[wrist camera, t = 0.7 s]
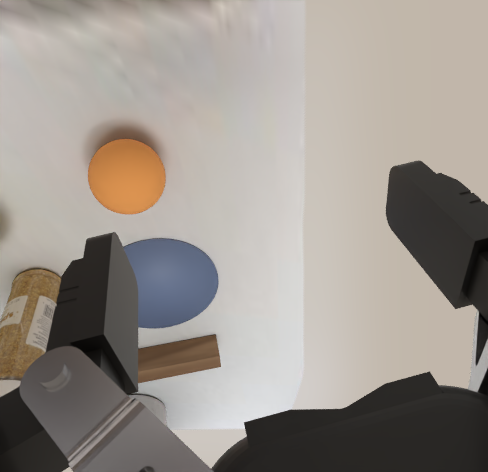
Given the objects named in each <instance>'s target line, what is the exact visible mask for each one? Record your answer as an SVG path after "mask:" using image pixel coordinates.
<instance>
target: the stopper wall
mask: <svg viewBox="0 0 488 472" xmlns="http://www.w3.org/2000/svg"><path fill="white" fill-rule="evenodd" d="M217 367H221V363H220V356H219V350H218V345H217V339H216V335H211V336H205V337H200V338H195V339H189V340H184V341H179V342H173V343H168V344H163V345H157V346H152V347H147V348H141V349H138V383H142V382H147V381H152V380H157V379H162V378H167V377H172V376H177V375H182V374H187V373H192V372H197V371H202V370H207V369H212V368H217Z"/></svg>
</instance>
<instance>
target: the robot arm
mask: <svg viewBox="0 0 488 472" xmlns="http://www.w3.org/2000/svg"><path fill="white" fill-rule="evenodd" d="M386 216H387V220H388V224H389V226H390V228H391V230H392V231H393V232H394V233H395V235H396V236H397V237H398V238H399V239H400V241H401V242H402V243H403V245H404V246H405V247H406V248H407V249H408V251H409V252H410V253H411V254H412V256H413V257H414V258H415V259H416V261H417V262H418V263H419V264H420V266H421V267H422V268H423V269H424V271H425V272H426V273H427V274H428V275H429V277H430V278H431V279H432V280H433V282H434V283H435V284H436V285H437V287H438V288H439V289H440V290H441V292H442V293H443V294H444V295H445V296H446V298H447V299H448V300H449V302H450V303H451V304H452V305H453V307H454V308H455V309H457V308H461V307H465V306H468V305H472V304H473V305H474V306H475V307H476V309H477V313H476V317H475V325H474V339H473V352H472V365H471V376H470V382H469V387H468V389H464V388H459V387H453V386H442V385H441V386H439V385H438V384H437V382H436V381H435V379H434V378H433V376H432V375H431V373H430V372H427V373H423V374H419V375H416V376H412V377H408V378H405V379H401V380H397V381H394V382H390V383H386V384H384V385H382V386H381V387H379V388H377V389H376V390H374V391H372V392H371V393H369V394H368V395H366V396H364V397H363V398H361V399H359V400H358V401H356V402H354V403H353V404H351V405H350V406H348V407H346V408H343V409H310V410H288V411H284V412H281V413H277V414H273V415H270V416H266V417H262V418H259V419H255V420H252V421H248V422H244V425H245V429H246V434H247V437H245V438H244V439H242V440H240V441H239V442H237V443H236V444H235V445H233V446H232V447H231V448H230V449H228V450H227V451H226V452H225V453H224V454H223V455H222V456H221V457H220V458H219V460H218V461H217V462H216V463H215V465H214V466H213V467H212V469H211V468H209V467H208V466H207V465H206V464H205V463H204V462H203V461H202V460H201V459H200V458H199V457H198V456H197V455H196V454H195V453H194V452H193V451H192V450H191V449H190V448H189V447H188V446H186V445H185V444H184V443H183V442H182V441H181V440H180V439H179V438H178V437H177V436H176V435H175V434H174V433H173V432H172V431H171V430H170V429H169V428H168V427H167V422H166V409H165V406H164V405H163V403H162V402H160V401H159V400H157V399H155V398H153V397H149V396H144V395H127V394H131V393H135V392H138V285H137V280H136V277H135V273H134V271H133V268H132V266H131V264H130V262H129V260H128V257H127V255H126V253H125V251H124V248H123V246H122V244H121V242H120V239H119V237H118V235H117V234H116V233H115V232H113V233H109V234H105V235H100V236H96V237H92V238H88V239H87V240H86V245H85V251H84V257H83V258H82V259H78V260H74V261H72V262H71V264H70V265H69V266H68V268H67V269H66V271H65V272H64V274H63V275H62V278H61V283H60V287H59V294H58V296H57V301H56V304H57V306H55V310H54V315H53V320H52V324H51V329H50V334H49V338H48V343H47V348H46V352H45V353H44V354H43V355H41V356H40V357H39V358H37V359H36V360H35V361H34V362H33V363H32V364H31V365H30V366H29V367H28V369H27V370H26V372H25V373H24V375H23V377H22V380H21V382H20V386H19V387H17V388H16V389H14V390H12V391H11V392H9V393H7V394H5V395H3V396H1V397H0V472H62V471H63V470H65V469H66V468H68V467H70V468H71V469H72V470H73V472H488V205H487V204H486V203H485V202H484V201H483V202H481V199H480V198H479V197H478V196H476V195H475V194H474V193H471V192H470V190H469V189H468V188H467V187H465V186H464V185H463V184H462V183H461V182H459V181H458V180H456V179H453V178H451V177H449V176H446V175H444V174H442V173H438V174H436V173H435V172H433V171H432V170H431V169H430V168H429V167H428V166H427V165H425V164H424V163H423V162H422V161H414V162H410V163H406V164H402V165H398V166H394V167H392V168H391V170H390V174H389V184H388V194H387V204H386Z"/></svg>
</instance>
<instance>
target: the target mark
mask: <svg viewBox="0 0 488 472" xmlns="http://www.w3.org/2000/svg"><path fill="white" fill-rule="evenodd" d="M123 248H124V251H125V253H126V255H127V257H128V260H129V262H130V264H131V266H132V268H133V271H134V273H135V277H136V280H137V285H138V327H141V328H164V327H170V326H174V325H178V324H181V323H184V322H186V321H188V320H190V319H192V318H194V317H195V316H197V315H198V314H200V313H201V312H202V311H203V310H205V309H206V308H207V307H208V305H209V304H210V303H211V302H212V300H213V298H214V296H215V294H216V292H217V288H218V274H217V270H216V268H215V266H214V264H213V262H212V261H211V259H210V258H209V257H208V256H207V255H206V254H205V253H204V252H203V251H201V250H200V249H198V248H197V247H195V246H193V245H190V244H188V243H185V242H182V241H178V240H173V239H149V240H143V241H139V242H135V243H132V244H130V245H127V246H125V247H123Z"/></svg>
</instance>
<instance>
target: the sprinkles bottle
mask: <svg viewBox="0 0 488 472" xmlns="http://www.w3.org/2000/svg"><path fill="white" fill-rule="evenodd" d="M60 283H61V278H60V277H59V276H57V275H56V274H54V273H52V272H49V271H46V270H42V269H37V270H36V269H33V270H29V271H25V272H23V273H21V274H19V275H18V276H17V277H16V278H15V279H14V281H13V283H12V290H11V294H10V296H9V299H8V302H7V305H6V307H5V309H4V312H3V315H2V318H1V321H0V397H1V396H3V395H5V394H7V393H9V392H11V391H12V390H14V389H16V388H17V387H19V386H20V382H21V380H22V377H23V375H24V373H25V372H26V370H27V369H28V367H29V366H30V365H31V364H32V363H33V362H34V361H35V360H36V359H37V358H39V357H40V356H41V355H43V354H44V353H45V352H46V348H47V343H48V338H49V334H50V329H51V324H52V320H53V315H54V310H55V306H57V304H56V301H57V296H58V294H59V287H60Z"/></svg>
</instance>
